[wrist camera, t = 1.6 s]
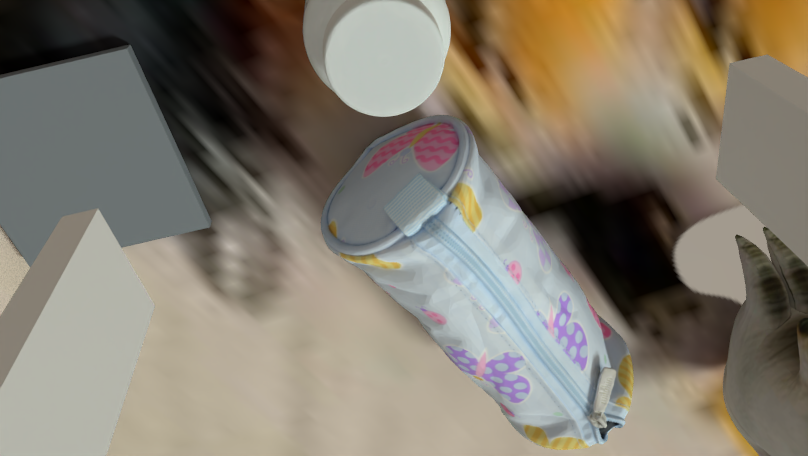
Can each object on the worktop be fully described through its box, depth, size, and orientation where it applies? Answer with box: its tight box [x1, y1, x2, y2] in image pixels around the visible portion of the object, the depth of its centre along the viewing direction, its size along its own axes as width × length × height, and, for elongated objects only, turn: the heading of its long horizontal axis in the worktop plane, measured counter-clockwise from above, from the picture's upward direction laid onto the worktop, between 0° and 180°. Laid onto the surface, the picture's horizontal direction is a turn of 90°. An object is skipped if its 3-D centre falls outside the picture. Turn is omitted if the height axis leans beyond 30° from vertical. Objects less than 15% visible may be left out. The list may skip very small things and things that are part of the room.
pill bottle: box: [303, 0, 451, 117], centre depth 24 cm, size 5×5×10 cm
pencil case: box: [321, 115, 634, 450], centre depth 33 cm, size 21×9×10 cm, turn 34°
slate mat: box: [0, 45, 211, 268], centre depth 31 cm, size 10×10×1 cm
